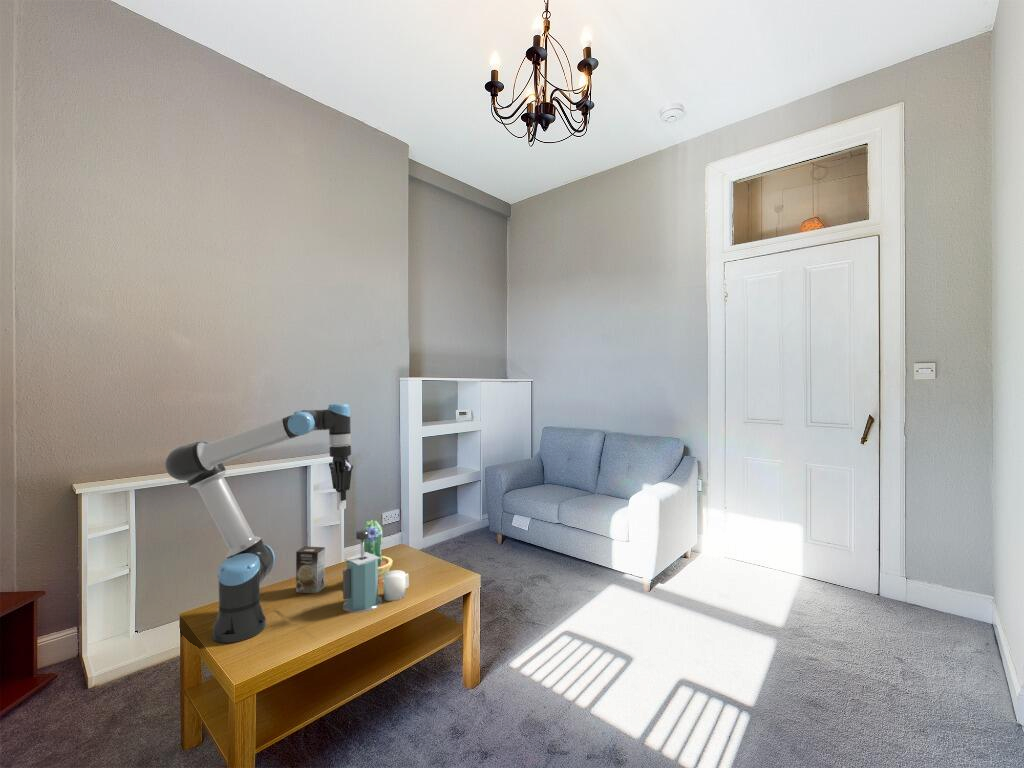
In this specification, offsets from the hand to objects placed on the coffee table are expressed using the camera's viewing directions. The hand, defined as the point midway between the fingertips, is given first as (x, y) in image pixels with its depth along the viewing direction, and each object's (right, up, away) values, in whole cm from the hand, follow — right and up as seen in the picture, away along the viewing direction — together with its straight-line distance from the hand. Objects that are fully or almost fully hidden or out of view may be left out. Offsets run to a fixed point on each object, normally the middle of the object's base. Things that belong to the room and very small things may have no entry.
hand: (341, 508), depth 173 cm
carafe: (+8, -34, -3) cm, 35 cm away
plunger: (+8, -24, -2) cm, 26 cm away
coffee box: (-17, -35, +12) cm, 41 cm away
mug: (+19, -35, +4) cm, 40 cm away
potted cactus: (+6, -35, +18) cm, 40 cm away
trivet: (+9, -35, -2) cm, 36 cm away
